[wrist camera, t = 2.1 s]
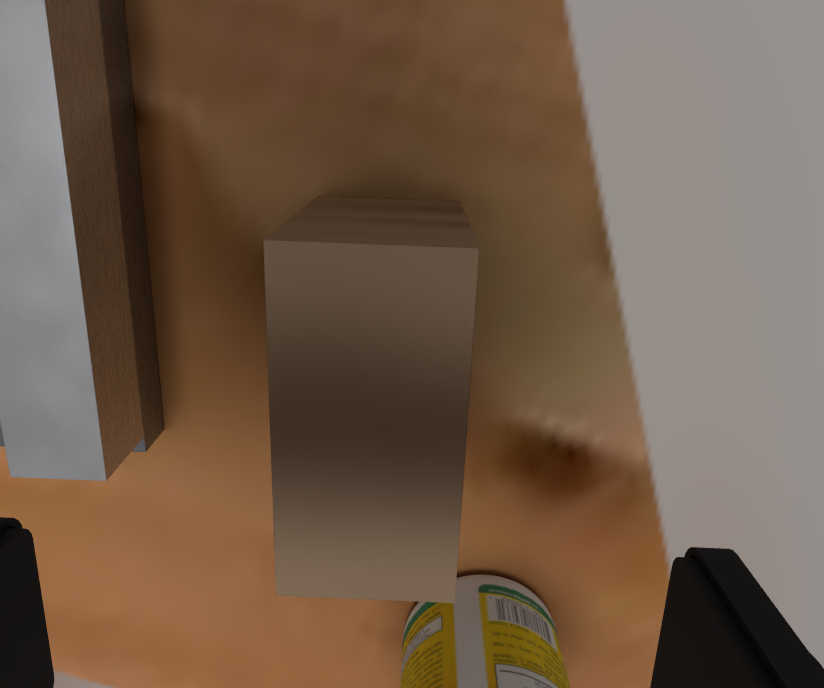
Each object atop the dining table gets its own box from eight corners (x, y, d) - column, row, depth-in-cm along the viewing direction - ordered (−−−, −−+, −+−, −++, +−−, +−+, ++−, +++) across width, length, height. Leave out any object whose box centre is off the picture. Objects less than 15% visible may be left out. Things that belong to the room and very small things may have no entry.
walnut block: (318, 195, 19) (263, 240, 12) (459, 201, 19) (479, 248, 12) (321, 448, 22) (276, 595, 15) (445, 452, 22) (454, 602, 15)
